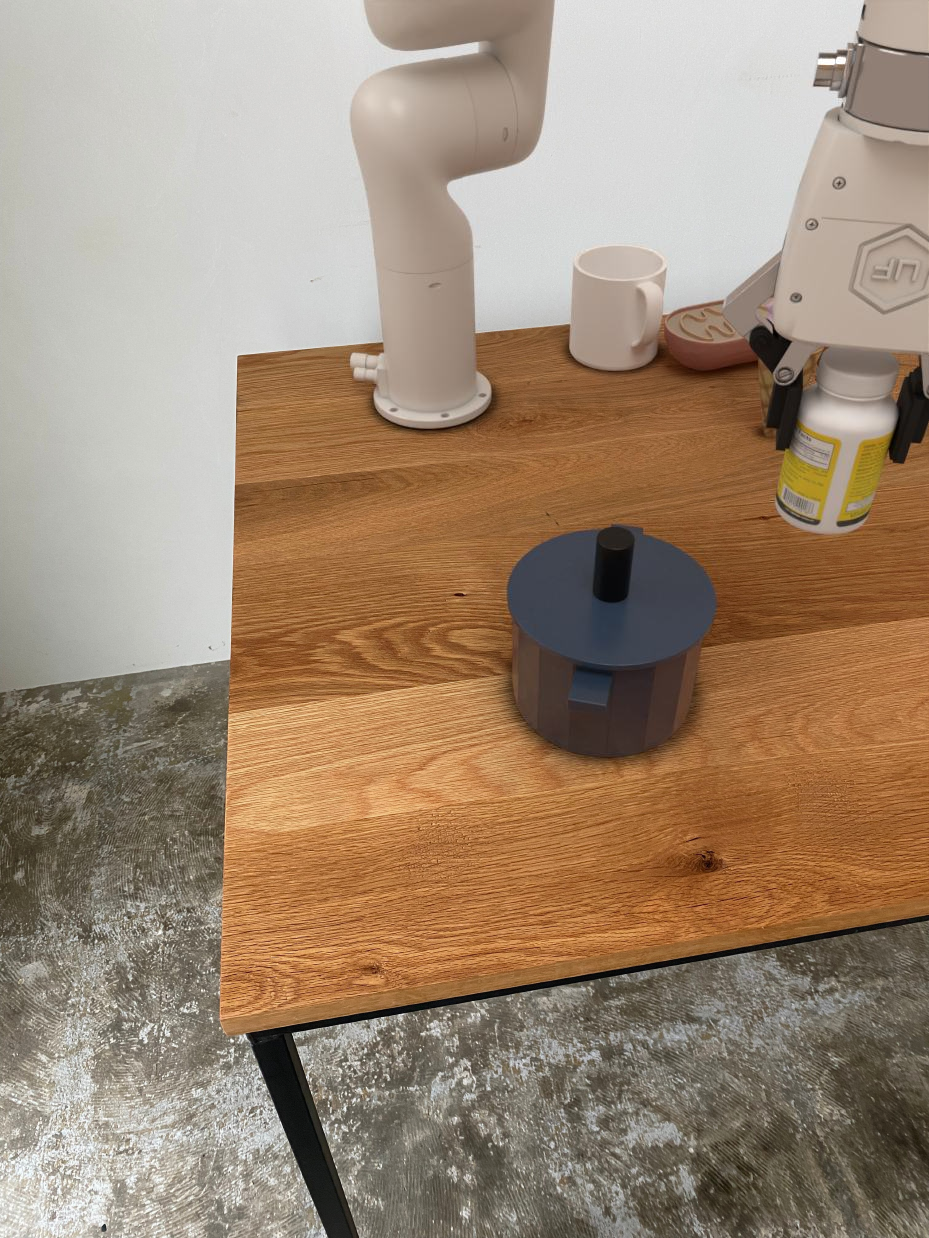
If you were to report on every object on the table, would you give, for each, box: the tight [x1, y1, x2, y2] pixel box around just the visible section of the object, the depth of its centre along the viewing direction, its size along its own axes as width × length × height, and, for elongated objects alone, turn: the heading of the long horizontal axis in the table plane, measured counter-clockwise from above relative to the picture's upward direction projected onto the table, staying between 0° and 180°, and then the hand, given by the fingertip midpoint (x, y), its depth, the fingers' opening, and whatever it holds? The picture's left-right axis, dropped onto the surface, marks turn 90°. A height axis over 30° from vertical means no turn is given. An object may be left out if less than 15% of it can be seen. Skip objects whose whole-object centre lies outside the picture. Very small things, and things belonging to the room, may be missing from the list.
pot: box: [511, 523, 704, 758], centre depth 65 cm, size 13×18×9 cm
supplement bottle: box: [774, 347, 901, 536], centre depth 53 cm, size 5×5×10 cm
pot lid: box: [506, 526, 718, 671], centre depth 61 cm, size 14×14×6 cm
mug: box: [568, 243, 668, 372], centre depth 103 cm, size 13×10×10 cm
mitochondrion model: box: [663, 295, 830, 371], centre depth 104 cm, size 23×10×5 cm, turn 101°
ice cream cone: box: [757, 300, 824, 439], centre depth 88 cm, size 7×6×15 cm
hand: (838, 441), depth 53 cm, fingers closed on supplement bottle, 5 cm apart
